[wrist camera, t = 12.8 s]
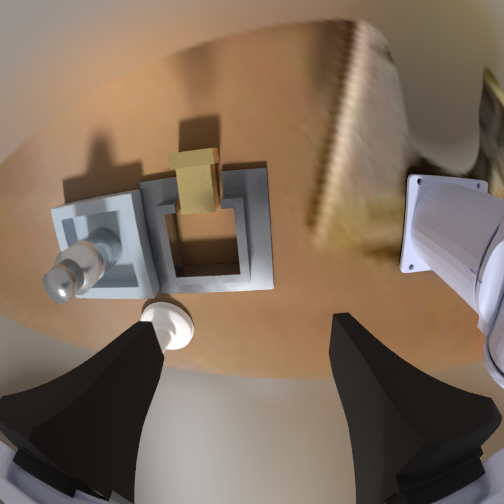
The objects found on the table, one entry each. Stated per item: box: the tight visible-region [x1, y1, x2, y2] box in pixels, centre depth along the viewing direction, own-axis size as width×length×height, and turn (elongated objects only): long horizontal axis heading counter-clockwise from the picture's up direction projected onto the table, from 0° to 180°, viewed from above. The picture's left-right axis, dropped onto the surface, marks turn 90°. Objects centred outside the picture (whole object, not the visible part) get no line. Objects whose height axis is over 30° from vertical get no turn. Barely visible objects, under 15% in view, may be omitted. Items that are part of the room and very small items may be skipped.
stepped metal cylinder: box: [43, 227, 122, 304], centre depth 16 cm, size 3×3×7 cm
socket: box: [139, 168, 274, 294], centre depth 19 cm, size 9×9×2 cm
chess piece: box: [141, 302, 194, 373], centre depth 18 cm, size 5×5×10 cm
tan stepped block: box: [168, 148, 220, 215], centre depth 17 cm, size 3×4×2 cm
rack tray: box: [51, 189, 160, 299], centre depth 19 cm, size 8×8×2 cm
